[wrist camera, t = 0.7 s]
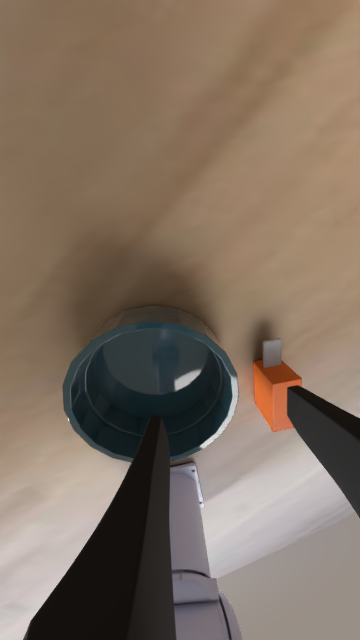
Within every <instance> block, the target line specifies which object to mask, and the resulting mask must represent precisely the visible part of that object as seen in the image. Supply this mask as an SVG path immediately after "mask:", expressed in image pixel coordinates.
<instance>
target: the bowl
mask: <svg viewBox="0 0 360 640" xmlns="http://www.w3.org/2000/svg"><path fill="white" fill-rule="evenodd" d="M238 398H239V391H238V379H237V373H236V371H235V369H234V367H233V365H232V363H231V361H230V359H229V357H228V355H227V353H226V352H225V350H224V349H223V347H222V346H221V344H220V343H219V341H218V339H217V338H216V336H215V335H214V333H213V332H212V331H211V330H210V329H209V328H208V327H207V326H206V325H205V324H204V323H203V322H201V321H200V320H199V319H198V318H197V317H195V316H193V315H190V314H188V313H186V312H184V311H181V310H179V309H177V308H172V307H163V306H155V305H150V306H145V307H140V308H134V309H129V310H126V311H124V312H123V313H121V314H119V315H117V316H115V317H113V318H112V319H110V320H108V321H107V322H105V323H104V325H103V326H102V327H101V328H100V329H99V330H98V331H97V332H96V334H95V335H94V336H93V337H92V338H91V339H90V340H89V342H88V343H87V344H86V345H85V346H84V348H83V349H82V350H81V351H80V352H79V353H78V355H77V356H76V357H75V358H74V359H73V361H72V362H71V364H70V367H69V370H68V372H67V375H66V378H65V381H64V383H63V403H64V411H65V413H66V415H67V417H68V419H69V421H70V423H71V425H72V427H73V429H74V431H75V432H76V433H77V434H78V435H79V436H80V437H81V438H82V439H83V440H84V441H85V442H86V443H87V444H88V445H90V446H91V447H92V448H94V449H96V450H98V451H100V452H102V453H104V454H106V455H108V456H109V457H112V458H115V459H119V460H123V461H127V462H131V463H132V461H133V459H134V456H135V454H136V452H137V449H138V447H139V444H140V442H141V440H142V437H143V434H144V432H145V429H146V426H147V423H148V420H149V418H150V416H155V415H160V414H161V415H162V419H163V423H164V426H165V430H166V433H167V437H168V440H169V452H170V461H173V460H178V459H182V458H185V457H187V456H189V455H191V454H193V453H195V452H198V451H200V450H202V449H204V448H205V447H206V446H207V445H209V444H210V443H211V442H212V441H214V440H215V439H216V438H217V437H219V436H220V435H221V434H222V432H223V431H224V429H225V428H226V426H227V425H228V424H229V422H230V421H231V419H232V418H233V415H234V412H235V408H236V405H237V401H238Z"/></svg>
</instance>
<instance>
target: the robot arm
mask: <svg viewBox="0 0 360 640" xmlns="http://www.w3.org/2000/svg"><path fill="white" fill-rule="evenodd" d="M287 416H288V418H289V419H290V421H291V423H292V424H293V426H294V428H295V429H296V431H297V432H298V434H299V435H300V437H301V438H302V439H303V441H304V442H305V443H306V444H307V446H308V447H309V448H310V450H311V451H312V452H313V454H314V455H315V456H316V457H317V459H318V460H319V461H320V463H321V464H322V465H323V466H324V468H325V469H326V470H327V472H328V473H329V474H330V475H331V477H332V478H333V479H334V481H335V482H336V483H337V485H338V486H339V488H340V489H341V490H342V492H343V493H344V495H345V496H346V498H347V499H348V501H349V502H350V504H351V505H352V507H353V508H354V510H355V511H356V513H357V514H358V516H359V518H360V418H358V417H356V416H354V415H352V414H350V413H348V412H346V411H344V410H342V409H340V408H339V407H337V406H335V405H333V404H331V403H329V402H328V401H326V400H324V399H322V398H320V397H319V396H317V395H315V394H313V393H312V392H310V391H308V390H306V389H304V388H302V387H301V386H299V385H295V386H290V387H287ZM202 508H204V502H203V497H202V492H201V487H200V483H199V478H198V473H197V469H196V464H195V463H188V464H184V465H179V466H174V467H170V452H169V440H168V437H167V433H166V430H165V426H164V423H163V419H162V415H161V414H160V415H155V416H150V418H149V420H148V423H147V426H146V429H145V432H144V434H143V437H142V440H141V442H140V444H139V447H138V449H137V452H136V454H135V456H134V459H133V461H132V463H131V465H130V467H129V469H128V472H127V474H126V476H125V478H124V480H123V482H122V484H121V486H120V488H119V489H118V491H117V493H116V495H115V497H114V499H113V500H112V502H111V504H110V506H109V507H108V509H107V511H106V512H105V514H104V516H103V518H102V519H101V521H100V523H99V524H98V526H97V527H96V529H95V531H94V532H93V534H92V535H91V537H90V538H89V540H88V541H87V543H86V544H85V546H84V547H83V549H82V550H81V552H80V553H79V555H78V556H77V558H76V559H75V561H74V562H73V564H72V565H71V567H70V568H69V570H68V571H67V572H66V574H65V575H64V577H63V578H62V579H61V581H60V582H59V583H58V585H57V586H56V588H55V589H54V590H53V592H52V593H51V594H50V596H49V597H48V598H47V600H46V601H45V602H44V604H43V605H42V607H41V608H40V609H39V611H38V612H37V613H36V615H35V616H34V617H33V619H32V620H31V622H30V624H29V627H28V629H27V632H26V634H25V636H24V639H23V640H242V636H241V632H240V629H239V625H238V622H237V618H236V615H235V613H234V610H233V608H232V606H231V605H230V603H229V602H228V600H227V598H226V596H225V595H224V594H223V593H218V587H217V581H216V578H211V577H210V570H209V563H208V557H207V550H206V543H205V536H204V530H203V523H202V516H201V510H200V509H202Z"/></svg>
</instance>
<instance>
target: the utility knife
mask: <svg viewBox="0 0 360 640" xmlns="http://www.w3.org/2000/svg"><path fill="white" fill-rule="evenodd" d="M253 364H254V384H255V404H256V405H257V407H258V408H259V410H260V412H261V413H262V415H263V416H264V418H265V420H266V421H267V423H268V425H269V426H270V428H271V429H272V431H273V432H276V431H281V430H286V429H291V428H294V426H293V424H292V423H291V421H290V419H289V418H288V416H287V387H290V386H295V385H299V386H302V378H301V377H300V376H298V375H297V374H296V373H295V372H294V371H293V370H292V369H291V368H290V367H288V366H287V365H286V364H285V363H284V362H283V361H282V360H281V339H280V338H278V339H272V340H267V341H263V360H259V361H254V362H253Z"/></svg>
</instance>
